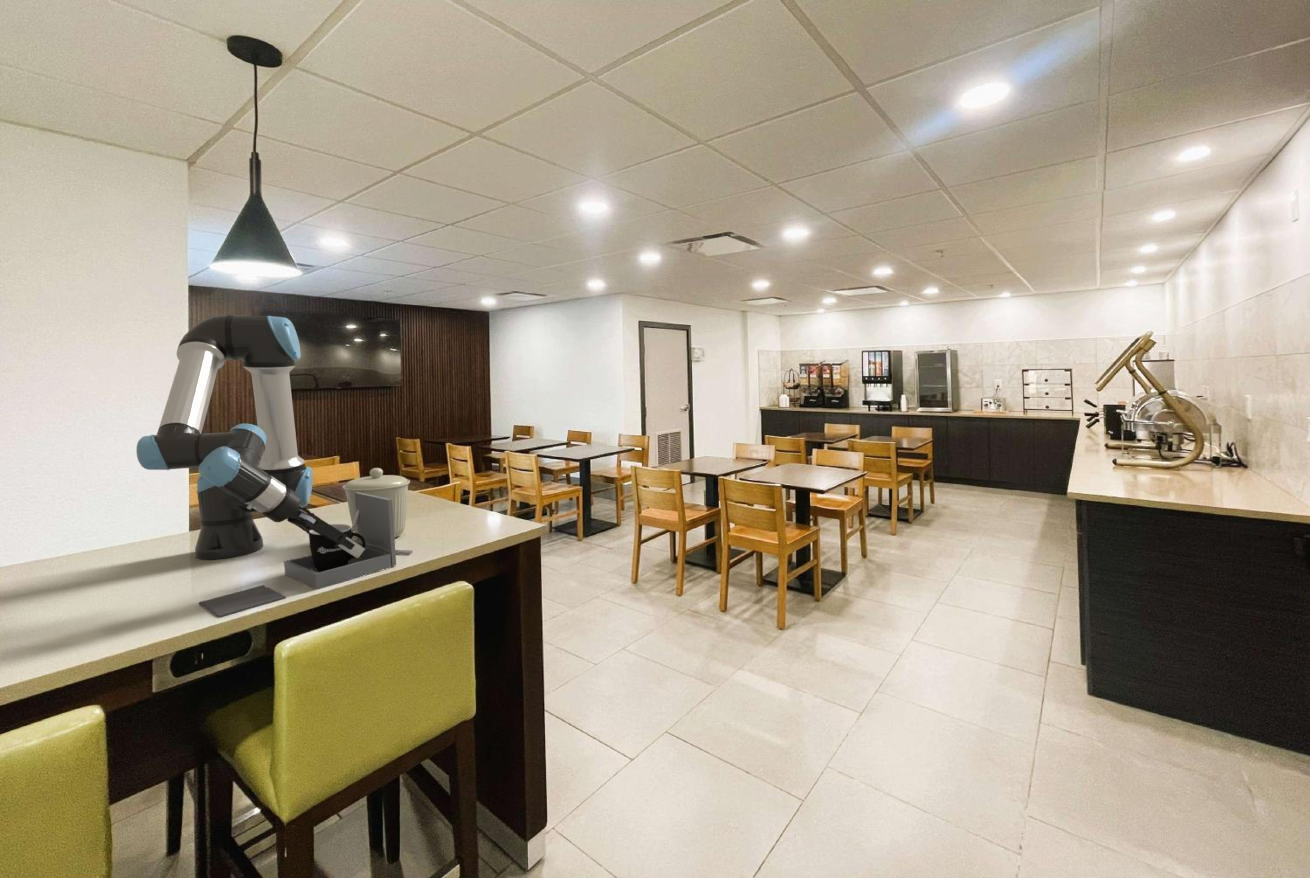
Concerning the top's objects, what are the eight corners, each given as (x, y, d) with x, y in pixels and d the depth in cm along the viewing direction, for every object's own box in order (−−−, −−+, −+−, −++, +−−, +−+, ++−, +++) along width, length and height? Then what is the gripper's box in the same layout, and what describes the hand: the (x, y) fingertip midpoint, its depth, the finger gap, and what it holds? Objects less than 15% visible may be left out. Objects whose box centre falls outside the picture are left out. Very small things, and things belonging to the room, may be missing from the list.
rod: (368, 555, 153) (368, 550, 153) (371, 553, 154) (371, 549, 154) (410, 556, 152) (410, 551, 151) (412, 554, 153) (412, 550, 153)
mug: (310, 578, 132) (308, 536, 131) (310, 566, 139) (308, 526, 138) (367, 569, 138) (366, 530, 137) (364, 558, 146) (363, 520, 144)
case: (285, 575, 137) (279, 505, 135) (362, 554, 152) (358, 492, 150) (316, 589, 127) (310, 514, 125) (396, 566, 142) (392, 499, 140)
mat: (198, 604, 119) (198, 602, 119) (263, 586, 129) (263, 585, 129) (219, 617, 112) (219, 615, 112) (286, 598, 122) (285, 596, 122)
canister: (361, 530, 177) (356, 464, 175) (420, 527, 179) (417, 462, 176) (335, 547, 159) (329, 474, 157) (401, 544, 161) (397, 472, 159)
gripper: (242, 507, 131) (320, 555, 146) (282, 521, 118) (363, 571, 133) (266, 481, 134) (339, 530, 149) (307, 492, 122) (383, 544, 137)
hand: (350, 549), depth 141 cm, fingers closed on mug, 9 cm apart
